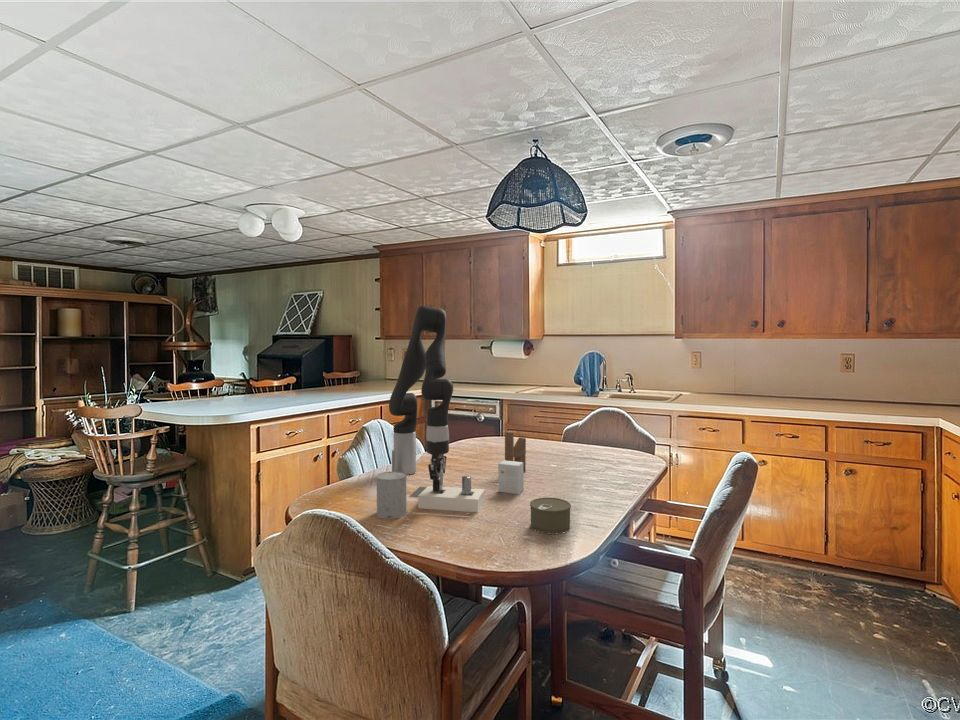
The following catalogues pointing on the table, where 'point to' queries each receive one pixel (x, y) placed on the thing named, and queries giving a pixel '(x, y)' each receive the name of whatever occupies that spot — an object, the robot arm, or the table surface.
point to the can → (550, 515)
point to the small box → (510, 477)
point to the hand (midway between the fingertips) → (437, 489)
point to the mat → (417, 492)
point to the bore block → (452, 499)
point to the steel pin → (440, 484)
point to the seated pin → (466, 485)
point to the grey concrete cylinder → (391, 495)
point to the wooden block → (515, 449)
